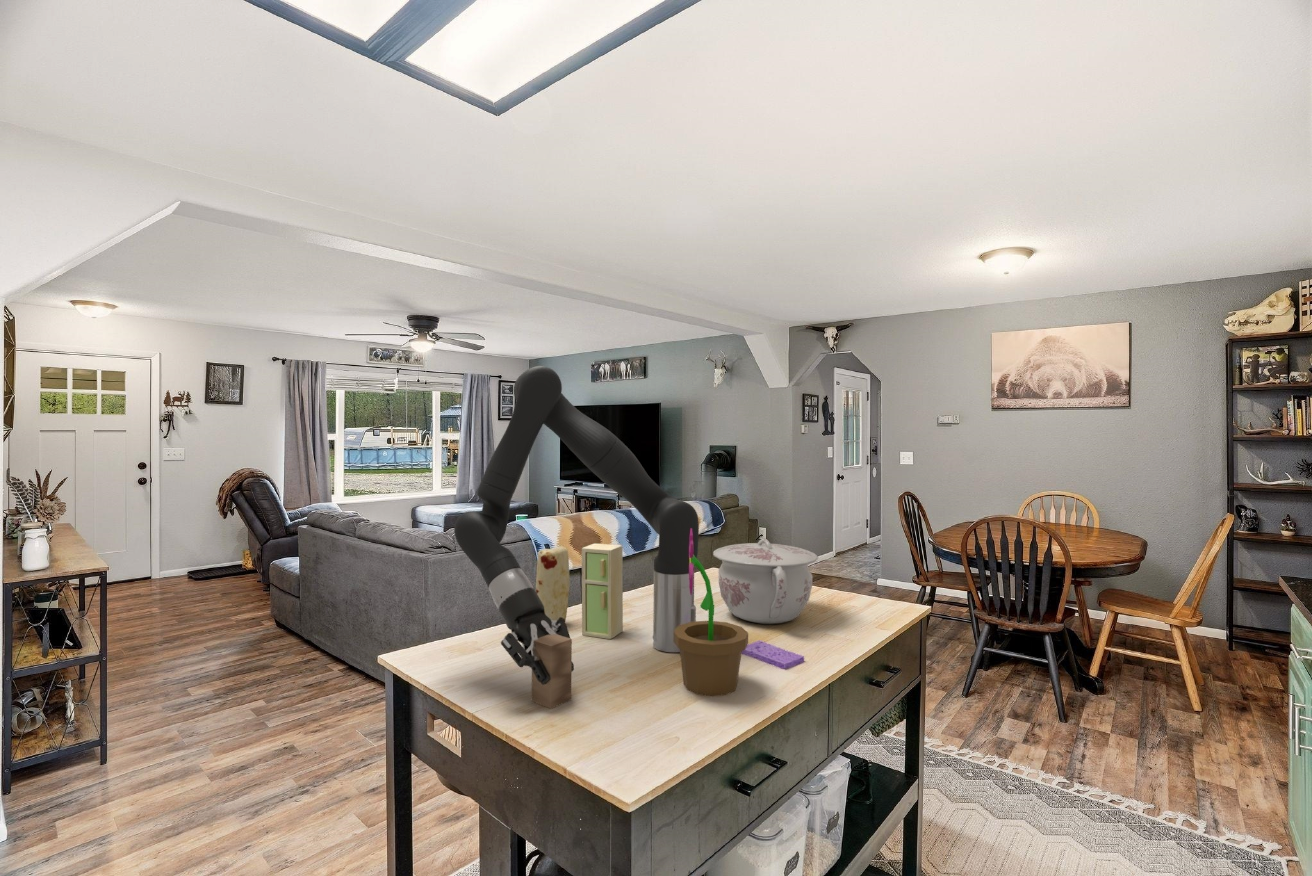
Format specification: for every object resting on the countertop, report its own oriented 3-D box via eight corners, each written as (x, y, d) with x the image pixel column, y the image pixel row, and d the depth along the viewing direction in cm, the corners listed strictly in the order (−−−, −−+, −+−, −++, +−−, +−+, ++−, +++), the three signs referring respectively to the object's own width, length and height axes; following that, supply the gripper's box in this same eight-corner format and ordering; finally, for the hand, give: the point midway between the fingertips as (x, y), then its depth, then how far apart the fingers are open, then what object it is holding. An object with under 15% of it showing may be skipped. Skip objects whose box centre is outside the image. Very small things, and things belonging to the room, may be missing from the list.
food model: (548, 635, 148) (548, 551, 147) (528, 629, 151) (528, 548, 151) (575, 624, 156) (576, 545, 155) (555, 620, 159) (556, 542, 159)
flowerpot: (673, 669, 127) (674, 523, 127) (743, 671, 126) (745, 524, 126) (672, 700, 113) (674, 535, 112) (752, 701, 112) (753, 536, 112)
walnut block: (552, 691, 116) (552, 633, 115) (571, 699, 112) (571, 638, 112) (531, 700, 112) (532, 639, 112) (550, 708, 109) (550, 646, 108)
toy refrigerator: (579, 636, 147) (580, 547, 147) (593, 627, 154) (594, 542, 154) (609, 640, 144) (610, 550, 144) (623, 631, 151) (623, 545, 151)
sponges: (759, 648, 142) (759, 639, 142) (805, 664, 132) (805, 655, 132) (738, 655, 137) (738, 646, 137) (784, 672, 127) (784, 663, 127)
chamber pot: (742, 597, 183) (743, 527, 183) (833, 613, 167) (834, 537, 167) (691, 620, 160) (692, 540, 160) (790, 641, 144) (791, 553, 144)
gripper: (493, 594, 111) (538, 678, 104) (553, 579, 122) (597, 654, 115) (475, 618, 114) (517, 701, 107) (535, 601, 125) (577, 676, 118)
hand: (558, 676), depth 111 cm, fingers closed on walnut block, 5 cm apart
